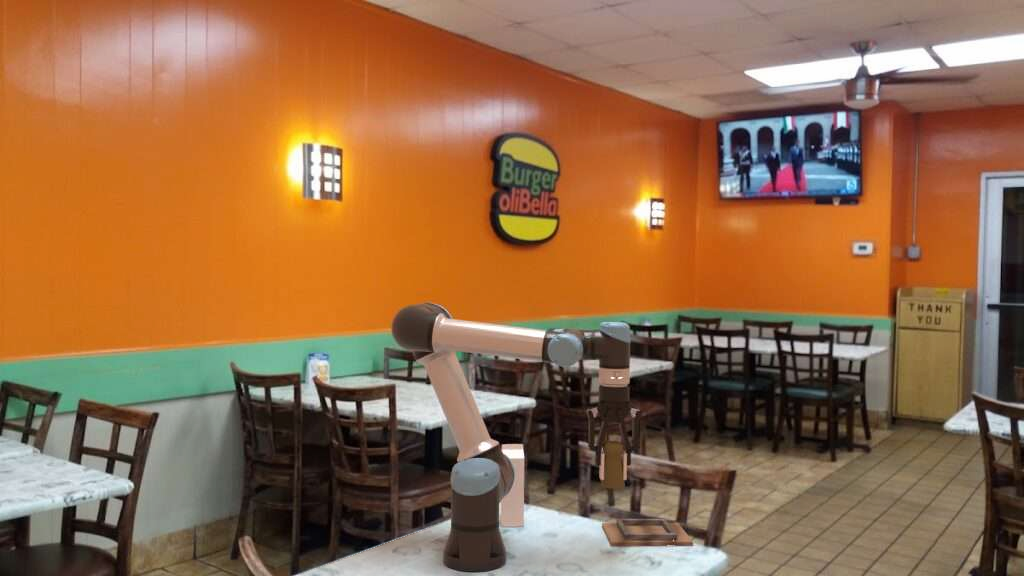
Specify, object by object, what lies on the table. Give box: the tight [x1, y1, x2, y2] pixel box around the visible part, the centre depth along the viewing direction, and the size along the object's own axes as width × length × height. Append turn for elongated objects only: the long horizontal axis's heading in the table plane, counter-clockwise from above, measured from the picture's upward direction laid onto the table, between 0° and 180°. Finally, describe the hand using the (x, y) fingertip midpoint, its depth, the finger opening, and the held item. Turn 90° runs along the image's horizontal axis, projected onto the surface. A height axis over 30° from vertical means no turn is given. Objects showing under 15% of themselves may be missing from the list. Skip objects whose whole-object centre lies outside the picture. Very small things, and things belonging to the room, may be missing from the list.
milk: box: [500, 443, 525, 528], centre depth 226 cm, size 6×6×22 cm
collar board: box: [601, 518, 694, 547], centre depth 217 cm, size 21×16×2 cm
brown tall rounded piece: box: [600, 440, 626, 490], centre depth 203 cm, size 6×6×11 cm
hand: (612, 478), depth 203 cm, fingers closed on brown tall rounded piece, 5 cm apart
